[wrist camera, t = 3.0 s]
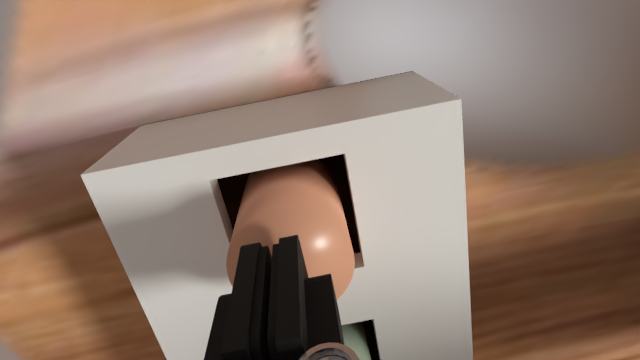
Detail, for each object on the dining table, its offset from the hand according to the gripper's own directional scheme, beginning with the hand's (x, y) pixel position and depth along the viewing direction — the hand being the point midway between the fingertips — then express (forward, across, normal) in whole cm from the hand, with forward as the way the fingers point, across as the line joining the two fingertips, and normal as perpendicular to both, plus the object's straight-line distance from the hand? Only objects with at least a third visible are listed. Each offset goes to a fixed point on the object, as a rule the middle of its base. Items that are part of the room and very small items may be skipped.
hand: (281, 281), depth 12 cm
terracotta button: (+6, 0, 0) cm, 6 cm away
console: (+9, 0, +8) cm, 12 cm away
